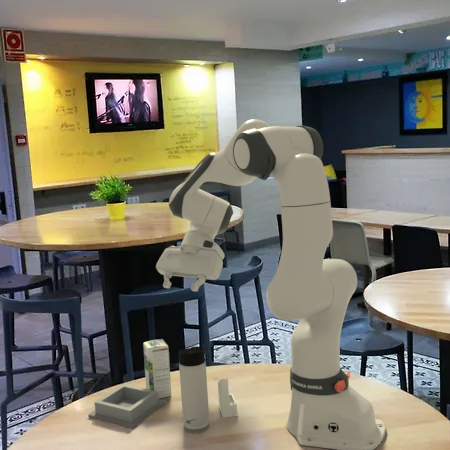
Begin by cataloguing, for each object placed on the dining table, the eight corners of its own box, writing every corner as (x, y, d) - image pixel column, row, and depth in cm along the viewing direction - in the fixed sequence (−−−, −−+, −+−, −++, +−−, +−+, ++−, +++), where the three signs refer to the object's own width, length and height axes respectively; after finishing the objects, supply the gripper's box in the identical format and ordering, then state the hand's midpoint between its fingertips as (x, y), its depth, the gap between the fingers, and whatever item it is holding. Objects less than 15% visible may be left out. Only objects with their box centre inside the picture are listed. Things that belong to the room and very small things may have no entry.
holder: (165, 403, 154) (164, 390, 154) (132, 428, 142) (131, 414, 142) (123, 394, 161) (122, 381, 160) (88, 417, 149) (87, 403, 148)
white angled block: (225, 416, 141) (220, 379, 144) (220, 418, 150) (216, 383, 153) (240, 414, 141) (235, 377, 144) (234, 417, 150) (230, 382, 153)
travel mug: (189, 436, 137) (183, 355, 134) (180, 424, 143) (174, 346, 140) (214, 430, 140) (209, 350, 136) (204, 418, 146) (198, 341, 142)
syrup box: (145, 392, 162) (141, 341, 159) (166, 387, 164) (162, 338, 161) (151, 400, 156) (147, 348, 154) (172, 396, 158) (168, 344, 156)
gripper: (162, 239, 176) (144, 279, 170) (221, 243, 166) (205, 286, 160) (171, 251, 181) (155, 290, 174) (229, 255, 171) (214, 297, 164)
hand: (179, 288), depth 167 cm, fingers open, 8 cm apart
